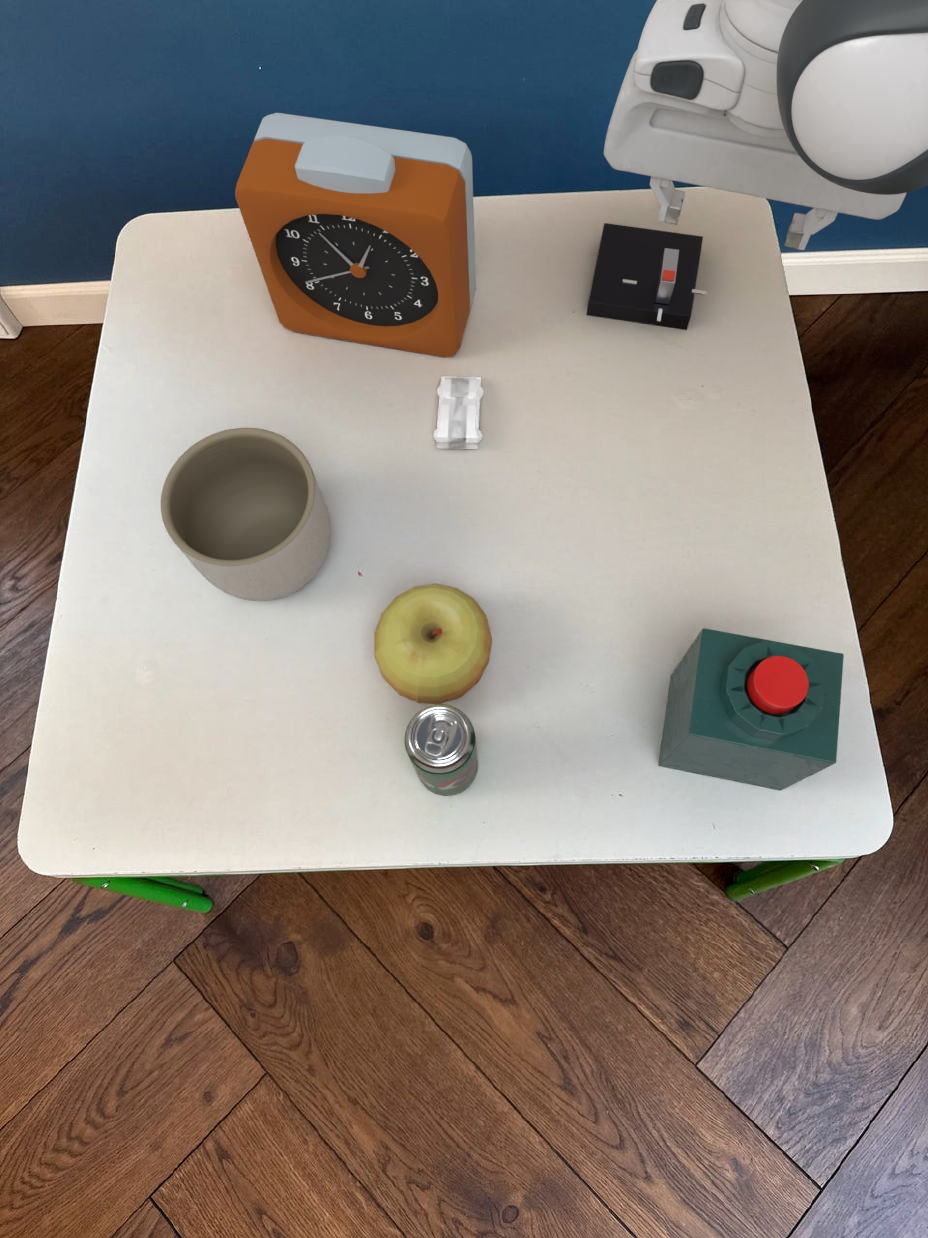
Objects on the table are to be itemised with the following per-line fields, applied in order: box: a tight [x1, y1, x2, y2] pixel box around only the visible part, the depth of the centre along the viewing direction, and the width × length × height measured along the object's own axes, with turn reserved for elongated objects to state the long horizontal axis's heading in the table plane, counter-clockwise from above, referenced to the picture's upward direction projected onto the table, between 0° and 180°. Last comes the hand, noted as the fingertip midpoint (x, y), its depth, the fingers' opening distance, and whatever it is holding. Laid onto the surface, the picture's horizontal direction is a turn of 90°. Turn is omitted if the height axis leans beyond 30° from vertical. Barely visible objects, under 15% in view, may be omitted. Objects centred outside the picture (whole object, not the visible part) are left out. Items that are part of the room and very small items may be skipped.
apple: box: [373, 583, 493, 705], centre depth 72 cm, size 10×10×8 cm
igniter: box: [658, 627, 845, 791], centre depth 66 cm, size 10×8×14 cm
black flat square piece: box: [586, 222, 708, 331], centre depth 87 cm, size 11×11×2 cm
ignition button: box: [747, 656, 809, 714], centre depth 59 cm, size 4×4×2 cm
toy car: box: [432, 375, 485, 450], centre depth 83 cm, size 5×8×2 cm, turn 177°
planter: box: [160, 427, 331, 602], centre depth 74 cm, size 12×12×11 cm
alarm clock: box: [234, 112, 477, 358], centre depth 78 cm, size 18×9×21 cm, turn 77°
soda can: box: [404, 703, 479, 797], centre depth 67 cm, size 5×5×12 cm
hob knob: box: [655, 248, 679, 304], centre depth 84 cm, size 4×1×3 cm, turn 170°
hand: (731, 229), depth 65 cm, fingers open, 8 cm apart
